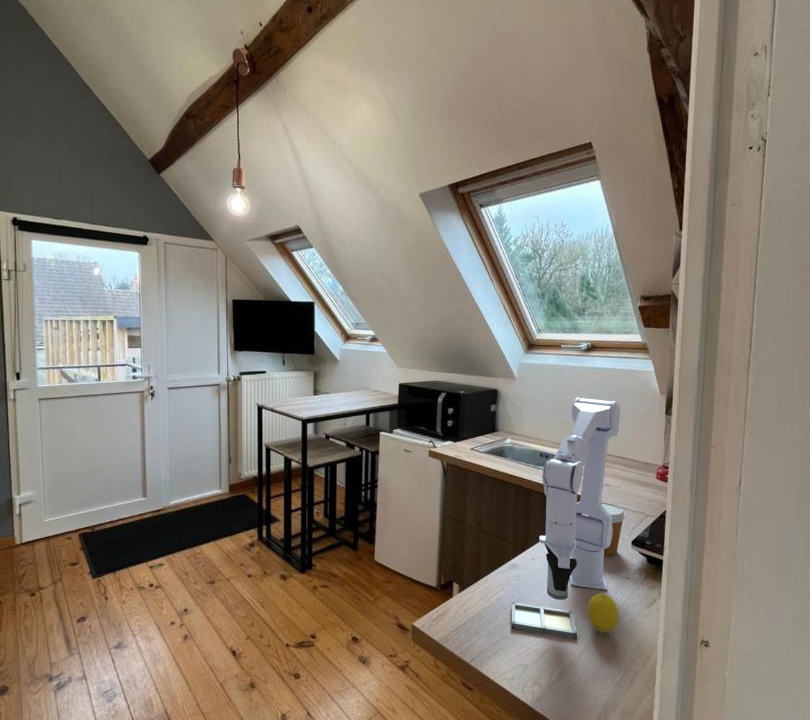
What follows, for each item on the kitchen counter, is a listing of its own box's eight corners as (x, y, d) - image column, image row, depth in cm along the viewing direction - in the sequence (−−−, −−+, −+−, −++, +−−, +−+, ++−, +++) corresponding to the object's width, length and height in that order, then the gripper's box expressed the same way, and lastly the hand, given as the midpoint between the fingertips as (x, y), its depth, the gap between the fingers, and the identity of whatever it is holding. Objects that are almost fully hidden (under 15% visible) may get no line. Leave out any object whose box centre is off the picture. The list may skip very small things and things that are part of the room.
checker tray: (511, 607, 95) (511, 602, 95) (572, 616, 92) (572, 611, 92) (511, 628, 88) (511, 622, 88) (576, 639, 85) (577, 633, 85)
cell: (546, 586, 92) (547, 554, 91) (567, 589, 90) (568, 557, 90) (547, 597, 88) (548, 564, 87) (568, 601, 87) (569, 567, 86)
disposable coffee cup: (631, 555, 117) (633, 512, 116) (603, 562, 114) (605, 517, 113) (604, 539, 126) (606, 499, 125) (577, 544, 123) (579, 503, 122)
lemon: (608, 622, 90) (610, 585, 90) (622, 641, 85) (624, 602, 84) (582, 623, 90) (584, 586, 90) (595, 642, 85) (596, 603, 84)
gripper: (538, 503, 96) (536, 562, 97) (542, 533, 82) (540, 601, 83) (572, 506, 94) (570, 566, 95) (582, 537, 80) (579, 607, 81)
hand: (558, 583), depth 89 cm, fingers closed on cell, 4 cm apart
